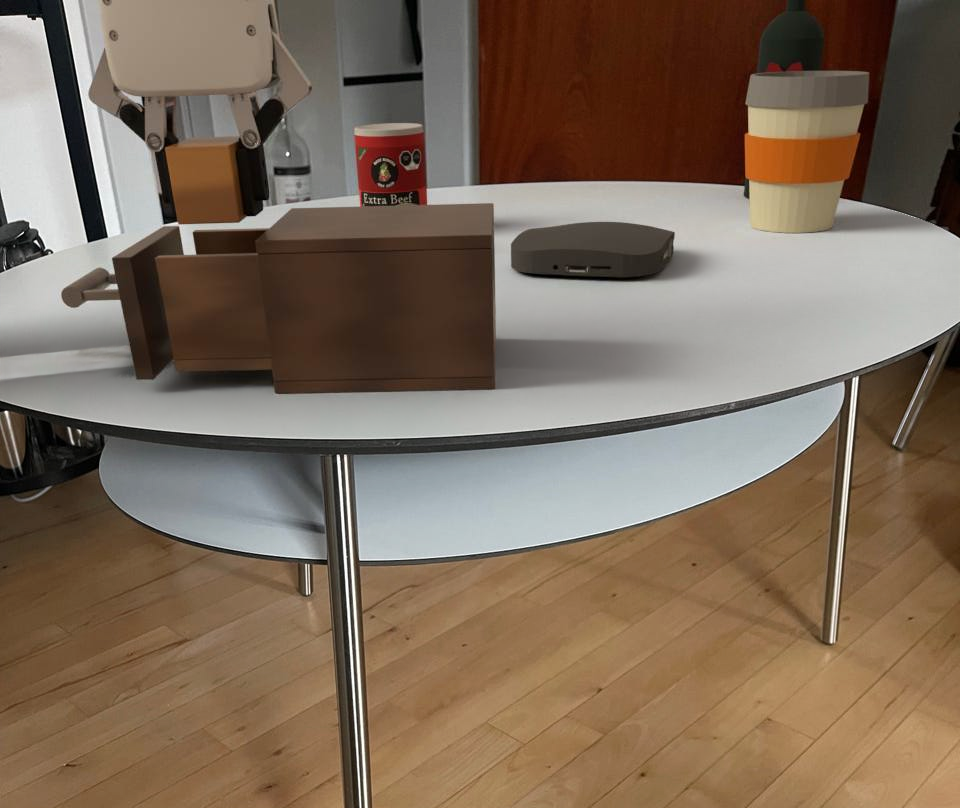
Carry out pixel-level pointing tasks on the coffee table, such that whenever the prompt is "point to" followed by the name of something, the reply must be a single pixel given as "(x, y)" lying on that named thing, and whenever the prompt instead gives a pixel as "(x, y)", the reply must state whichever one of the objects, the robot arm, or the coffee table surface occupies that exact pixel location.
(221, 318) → the drawer
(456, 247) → the cabinet
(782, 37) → the wine bottle
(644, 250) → the media streaming box
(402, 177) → the canned food
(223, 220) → the orange block
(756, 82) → the reusable coffee cup
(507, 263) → the coffee table surface
